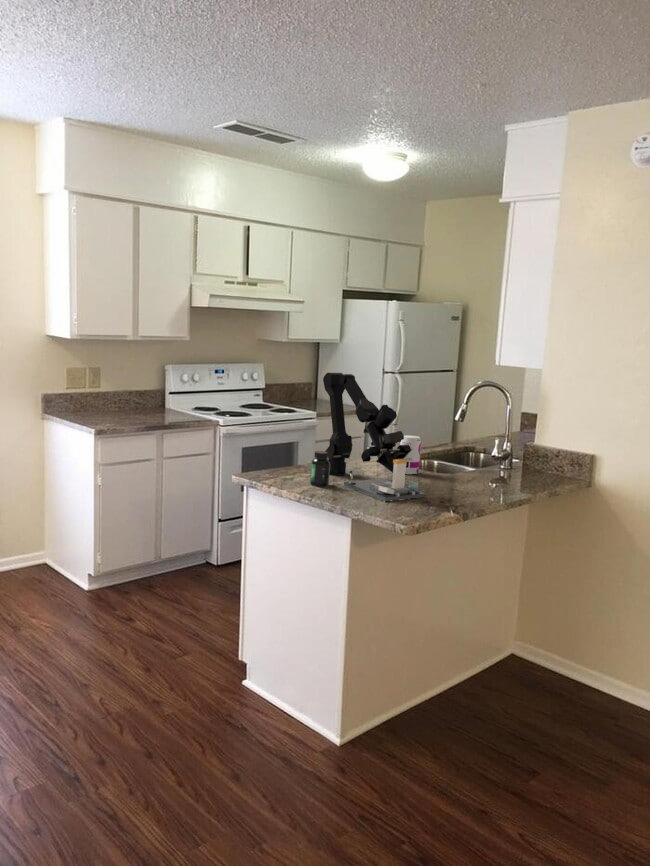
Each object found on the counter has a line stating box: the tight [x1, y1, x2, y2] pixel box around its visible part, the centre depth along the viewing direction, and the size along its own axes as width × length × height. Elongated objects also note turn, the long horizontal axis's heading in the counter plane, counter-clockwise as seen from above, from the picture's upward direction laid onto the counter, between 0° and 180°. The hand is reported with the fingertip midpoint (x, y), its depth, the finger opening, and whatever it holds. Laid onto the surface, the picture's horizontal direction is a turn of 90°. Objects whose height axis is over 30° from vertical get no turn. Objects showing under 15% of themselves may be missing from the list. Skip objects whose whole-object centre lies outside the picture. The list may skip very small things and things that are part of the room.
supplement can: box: [399, 434, 422, 475], centre depth 290 cm, size 8×8×15 cm
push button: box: [407, 480, 419, 490], centre depth 253 cm, size 3×3×2 cm
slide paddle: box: [388, 459, 408, 494], centre depth 250 cm, size 5×5×11 cm
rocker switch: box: [378, 486, 394, 494], centre depth 247 cm, size 4×3×1 cm
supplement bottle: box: [309, 450, 331, 488], centre depth 261 cm, size 7×7×12 cm
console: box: [343, 477, 426, 502], centre depth 257 cm, size 24×18×2 cm
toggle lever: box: [348, 469, 354, 481], centre depth 260 cm, size 1×1×4 cm
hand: (395, 473), depth 251 cm, fingers closed
